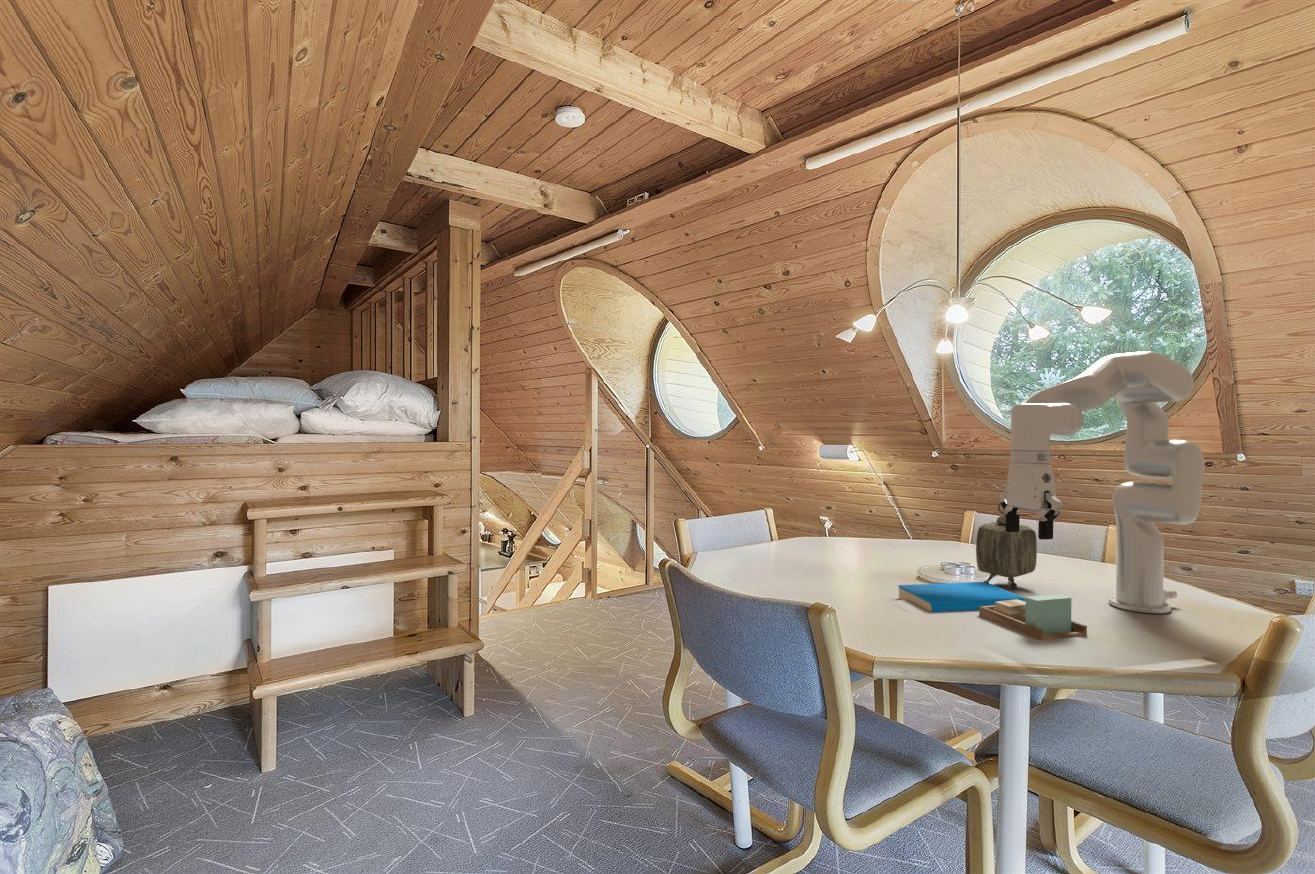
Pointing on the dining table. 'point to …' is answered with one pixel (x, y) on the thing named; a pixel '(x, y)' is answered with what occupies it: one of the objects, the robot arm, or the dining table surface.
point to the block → (1049, 613)
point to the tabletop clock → (1005, 550)
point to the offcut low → (1014, 615)
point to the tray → (1028, 629)
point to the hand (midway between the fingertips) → (1028, 535)
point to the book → (955, 595)
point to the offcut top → (1011, 606)
